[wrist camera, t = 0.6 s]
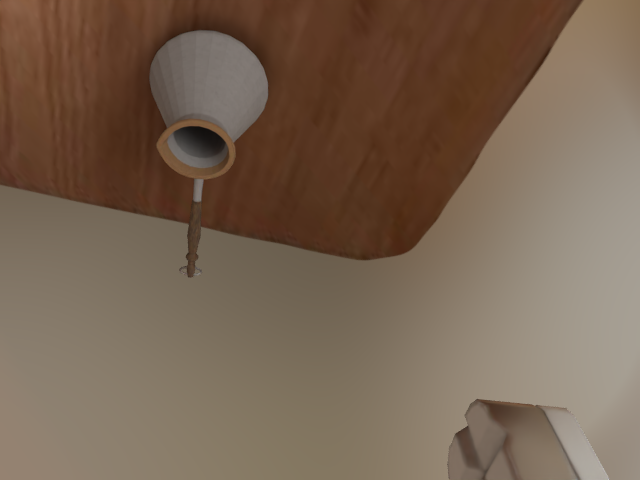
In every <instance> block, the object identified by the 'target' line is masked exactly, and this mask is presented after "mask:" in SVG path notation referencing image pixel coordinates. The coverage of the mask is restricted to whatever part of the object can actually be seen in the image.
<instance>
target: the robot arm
mask: <svg viewBox="0 0 640 480" xmlns="http://www.w3.org/2000/svg"><path fill="white" fill-rule="evenodd" d="M465 418H466V420H467V424H468V426H467V427H465V428H464V429H462V430H461V431H459V432H458V433H456V434H455V436H454V438H453V441H452V443H451V445H450V448H449V455H448V464H447V465H448V475H449V480H610V479H609V477H608V476H607V474H606V472H605V470H604V469H603V467H602V465H601V463H600V461H599V459H598V458H597V456H596V455H595V452H594V451H593V449H592V447H591V445H590V443H589V442H588V440H587V438H586V436H585V435H584V433H583V431H582V429H581V427H580V426H579V424H578V422H577V420H576V418H575V417H574V415H573V414H572V413H571V412H570V411H569V410H567V409H566V408H559V407H548V406H539V405H536V406H534V405H530V404H520V403H510V402H500V401H490V400H480V399H477V400H475V401H474V402H473V403H471V404H470V406H469V408H468V410H467V412H466V414H465Z"/></svg>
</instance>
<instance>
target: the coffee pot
mask: <svg viewBox="0 0 640 480" xmlns="http://www.w3.org/2000/svg"><path fill="white" fill-rule="evenodd" d="M149 80H150V86H151V91H152V94H153V97H154V99H155V101H156V103H157V106H158V108H159V110H160V113H161V115H162V117H163V119H164V122H165V124H166V126H167V129H166V130H165V131H164V132H163V133H162V135H161V136H160V137H159V139H158V141H157V143H156V147H157V149H158V151H159V153H160V155H161V156H162V158H163V159H164V161H165V162H166V163H167V164H168V165H169V166H170V167H171V168H172V169H173V170H175V171H176V172H178V173H179V174H182V175H184V176H186V177H190V178H194V194H193V200H192V207H191V214H190V221H189V228H188V235H187V237H188V250H189V253H188V254H187V255H186V258H187V260H188V265H187V266H185V267H181V268H180V273H182V274H184V275H188V277H193V276H196V275H200V274H201V273H202V271H201V269H199V268H197V267H195V261H196V260H197V259H198V255H197V254H196V252H197V248H198V243H199V240H200V230H201V204H202V201H201V196H202V187H203V179H210V178H215V177H217V176H220V175H222V174H223V173H225V172H226V171H227V170H229V168H230V167H231V165H232V164H233V163H234V159H235V156H236V154H235V146H234V144H233V143H234V142H235V141H236V140H237V139H238V138H239V137H240V136H241V135H242V134H243V133H244V132H245V131H246V130H247V129H248V128H249V127H250V126H251V125H252V124H253V123H254V122H255V121H256V120H257V118H258V117H259V116H260V114H261V113H262V111H263V110H264V107H265V104H266V101H267V98H268V81H267V78H266V75H265V71H264V68H263V67H262V65H261V63H260V62H259V60H258V59H257V57H256V55H254V54H253V53H252V52H251V51H250V50H249V49H248V48H247V47H246V46H245V45H244V44H243V43H242V42H240V41H238V40H236V39H235V38H233V37H231V36H229V35H227V34H223V33H220V32H217V31H208V30H197V31H192V32H187V33H183V34H180V35H178V36H176V37H174V38H172V39H171V40H169V41H167V42H166V43H165V44H164V45H163V46H162V47H161V48H160V49H159V50H158V52H157V53H156V55H155V57H154V59H153V61H152V63H151V69H150V76H149ZM184 268H187V273H184V272H182V271H181V269H184ZM195 269H197V270H200V273H197V274H194V272H195Z"/></svg>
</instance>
